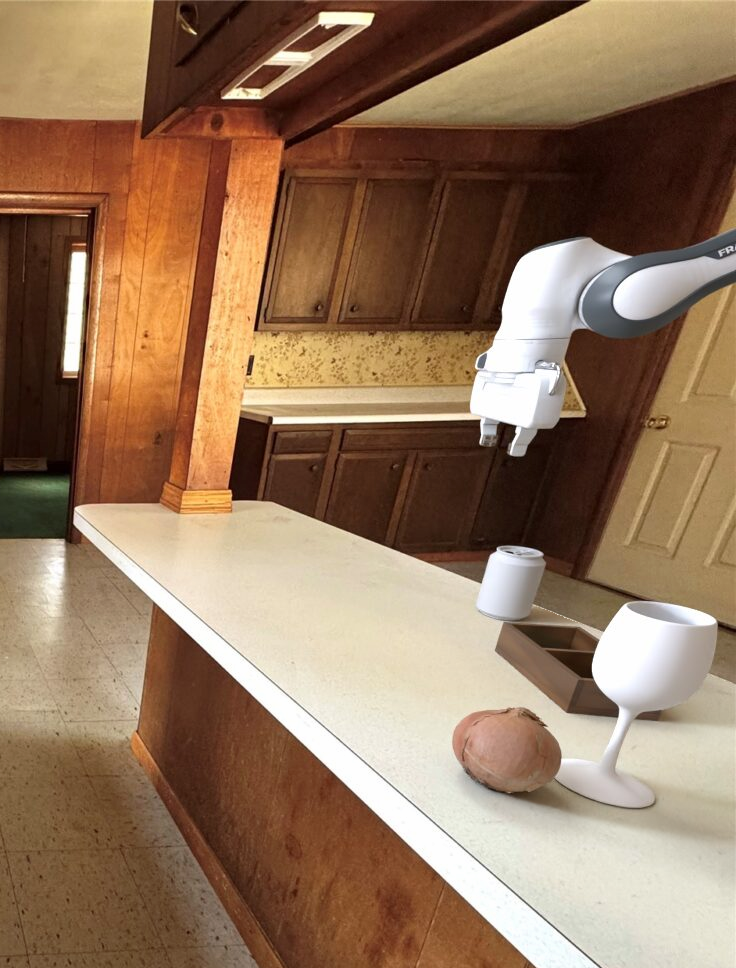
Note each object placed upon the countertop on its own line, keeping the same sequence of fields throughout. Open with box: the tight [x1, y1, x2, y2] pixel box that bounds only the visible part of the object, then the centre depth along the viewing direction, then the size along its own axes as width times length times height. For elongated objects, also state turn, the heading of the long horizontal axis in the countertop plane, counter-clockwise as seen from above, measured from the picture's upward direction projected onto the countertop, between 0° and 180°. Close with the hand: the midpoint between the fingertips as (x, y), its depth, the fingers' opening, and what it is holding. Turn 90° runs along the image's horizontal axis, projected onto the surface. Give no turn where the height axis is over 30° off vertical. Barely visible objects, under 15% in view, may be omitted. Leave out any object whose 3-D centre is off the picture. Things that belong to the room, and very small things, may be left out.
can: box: [475, 545, 547, 622], centre depth 115 cm, size 8×8×12 cm
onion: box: [451, 706, 563, 794], centre depth 74 cm, size 10×9×10 cm
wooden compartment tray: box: [494, 621, 663, 722], centre depth 94 cm, size 10×19×5 cm, turn 165°
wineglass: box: [553, 600, 719, 809], centre depth 71 cm, size 9×9×21 cm
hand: (500, 450), depth 106 cm, fingers open, 8 cm apart
